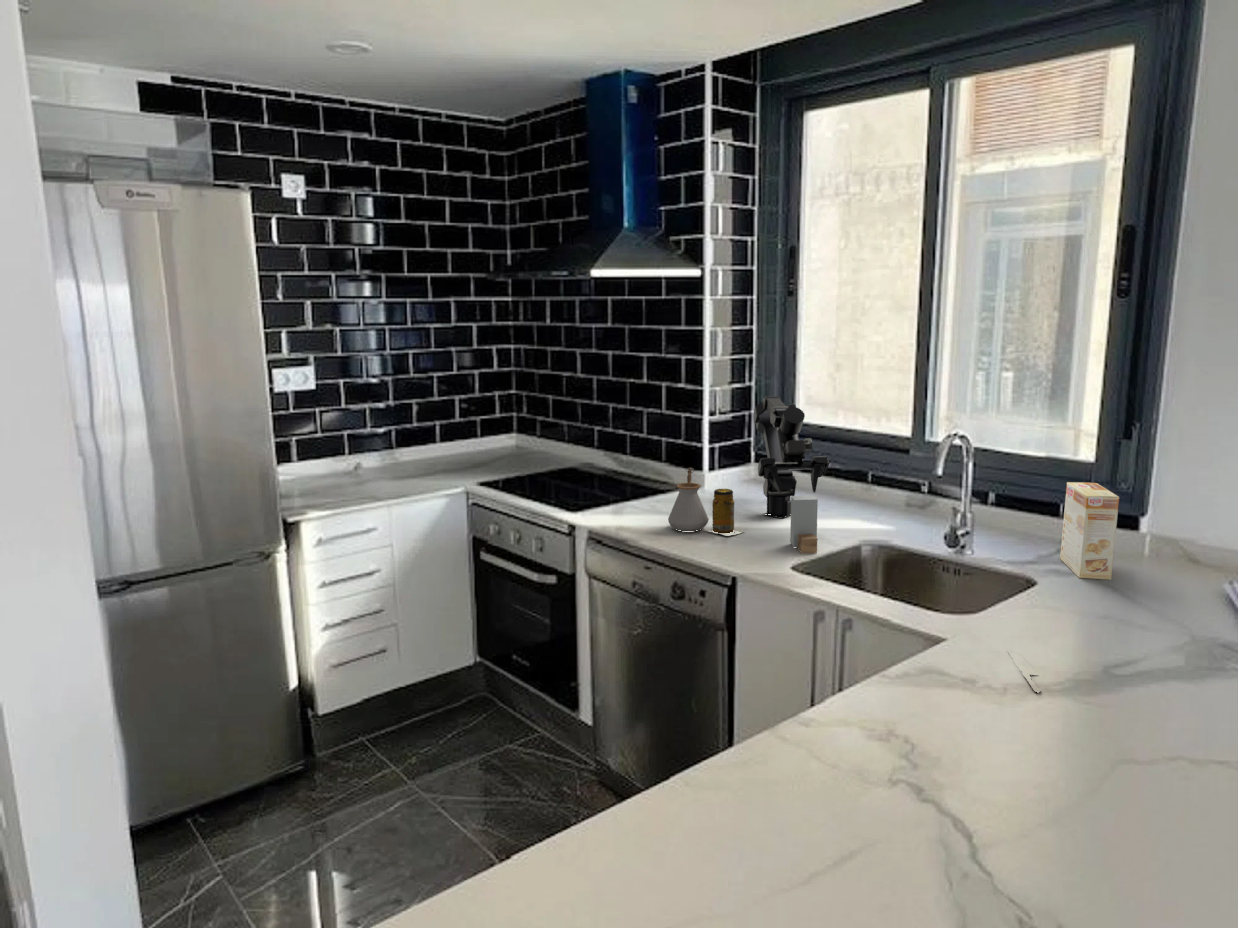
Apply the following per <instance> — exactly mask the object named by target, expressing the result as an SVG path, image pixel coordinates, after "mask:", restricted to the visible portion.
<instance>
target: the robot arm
mask: <svg viewBox="0 0 1238 928" xmlns="http://www.w3.org/2000/svg"><path fill="white" fill-rule="evenodd" d="M752 416H753V418H752V419H753V424H755V427H756V431H758V432H759V433H760V434H761V435H762V436H763V440H764V445H765V451H766V456H767V457H761V458H760V459H759V463H758V465H757V474H758V477H763V479H764V482H763V485H762V489H763V491H762V492H763V494H764V496H765V497H766V512H764V513H763V515H764V514H767V515H768V514H771V516H770V517H772V516H777V517H785V516H787V517H789V516H791V515H790V514H791V496H796V488H797V479H796V476H795V475H794V474H793V470H795V471H796V470H798V471H799V470H810V481H811V483H810V484H811V489H812V492H813V493H814V494H815V493H816V491H817V485H818V480H819V478H822V476H824V475H826V474H827V473H828V468H829V466H830V459H829V458H828V456H826V455H819V456H818V455H815V456H812V460H811V461H804V460H805V458H806V454H805V453H807V452H811V451H812V449H813V441H812V438H811V437H809V438H807V437H806V438H804V439H800V438H799V433H800V432H801V431H802V427H803V423H804V421H805V420H804V419H805V417H806V416H805V412H804V411H803V410H802V409H800V408H799V407H797V405H796V403H795V404H794V403H793V404H790V403H789V404H788V405H787V406H786V404H784V402H783V401H782V399H781V397H780V396H776V395H774V396H765V397H763V398H762V401H760V402H759V403H758V404H757V405H756V406H754V411H753V415H752ZM788 515H789V516H788ZM777 517H776V518H777ZM785 518H786V517H785Z"/></svg>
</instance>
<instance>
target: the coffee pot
mask: <svg viewBox="0 0 1238 928" xmlns="http://www.w3.org/2000/svg"><path fill="white" fill-rule="evenodd" d="M692 470H693V471H692ZM686 472H687V476H686V479H687V481H686V482H682V483H678V484H676V487H677V489H678V495H677V496H676V498H675V499H676V500H675V502H674V504H673V506H672V508H671V511H670V513H669V516H668V518H667V520H668V523H669V525H670V526H671V527H672V529H674V530H675V529H677V530H681V531H696V530H700V529H702V530H703V528H705V527H706V526H707V525H708V523H709V519H710V518H709V517H708V514H707V512H706V510H705V508H704V506H703V505H704V504H703V503H702V500H701V498H700V496H699V494H698V491H699V490H700V488H701V484H699V483H695V482H692V477H693V476H692V473H694V472H695V469H694V468H693V467H691V466H690V467H688V468H687V469H686Z"/></svg>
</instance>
